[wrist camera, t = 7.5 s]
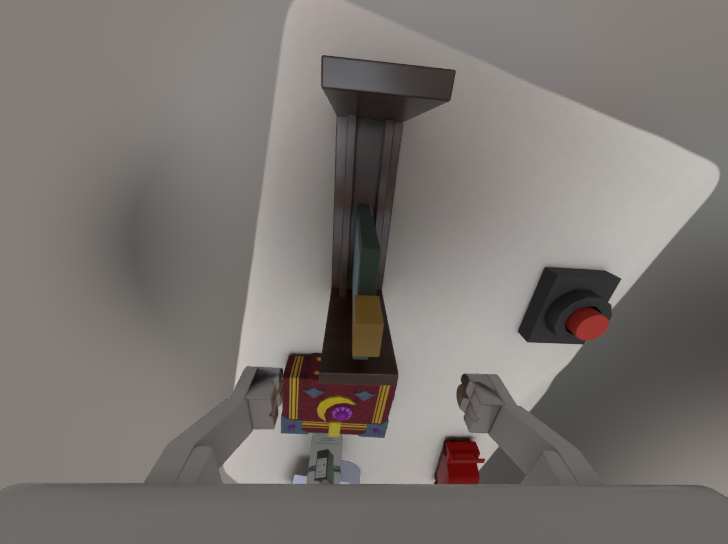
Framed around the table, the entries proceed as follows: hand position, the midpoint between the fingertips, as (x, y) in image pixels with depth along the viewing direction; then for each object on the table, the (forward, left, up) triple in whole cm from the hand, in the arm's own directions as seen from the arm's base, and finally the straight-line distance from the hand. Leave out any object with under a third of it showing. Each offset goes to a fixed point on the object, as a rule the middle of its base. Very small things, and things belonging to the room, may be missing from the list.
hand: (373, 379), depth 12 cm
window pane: (0, 0, -18) cm, 18 cm away
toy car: (+42, +20, -20) cm, 51 cm away
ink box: (+37, -3, -20) cm, 42 cm away
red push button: (+7, +27, -16) cm, 32 cm away
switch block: (+7, +27, -20) cm, 34 cm away
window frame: (-3, 0, -20) cm, 20 cm away
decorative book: (+23, -1, -20) cm, 31 cm away
